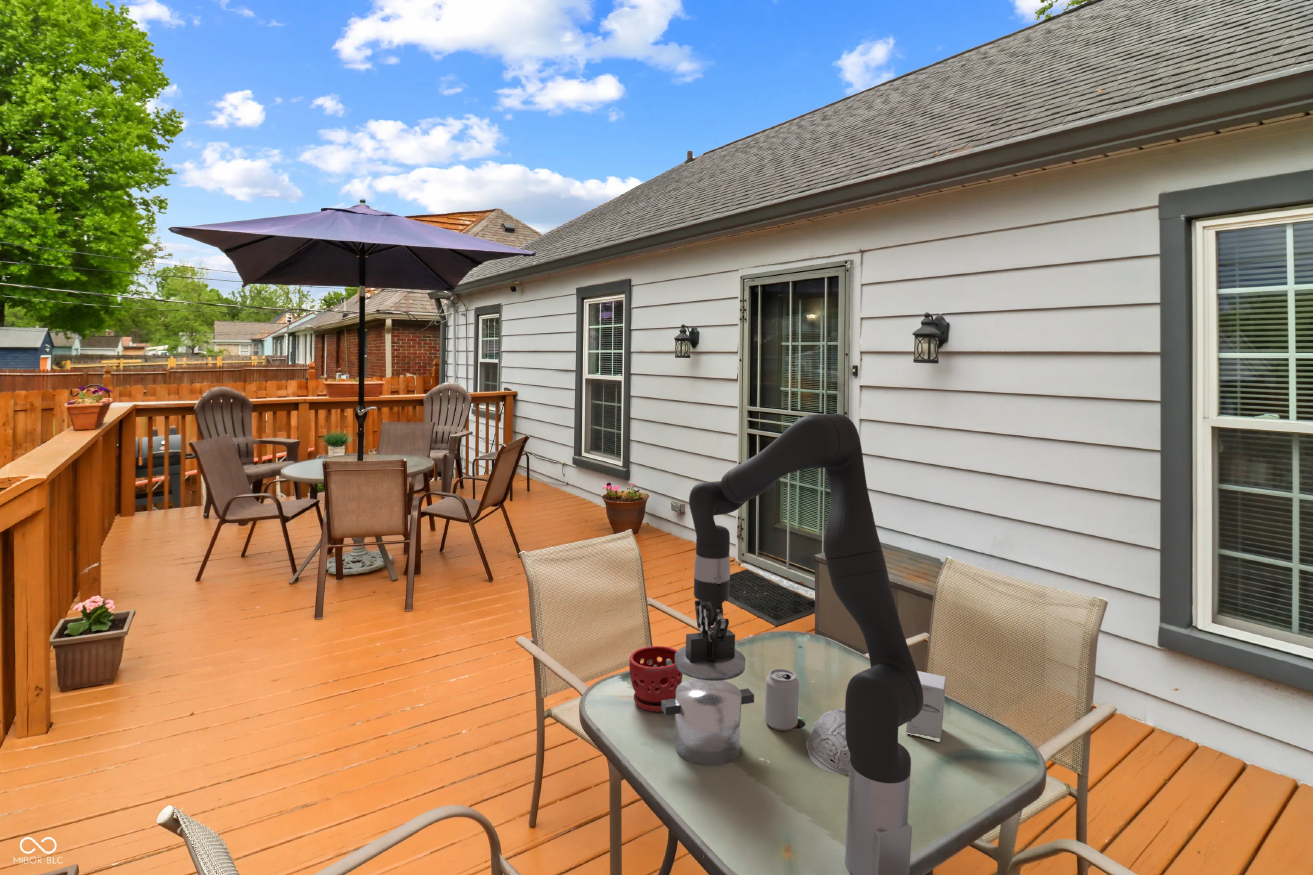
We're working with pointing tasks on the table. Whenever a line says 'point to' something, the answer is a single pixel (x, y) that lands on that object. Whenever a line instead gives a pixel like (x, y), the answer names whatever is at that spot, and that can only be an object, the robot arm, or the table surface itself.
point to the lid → (698, 664)
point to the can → (781, 699)
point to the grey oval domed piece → (830, 742)
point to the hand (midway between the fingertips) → (709, 654)
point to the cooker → (707, 720)
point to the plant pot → (654, 676)
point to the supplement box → (929, 707)
